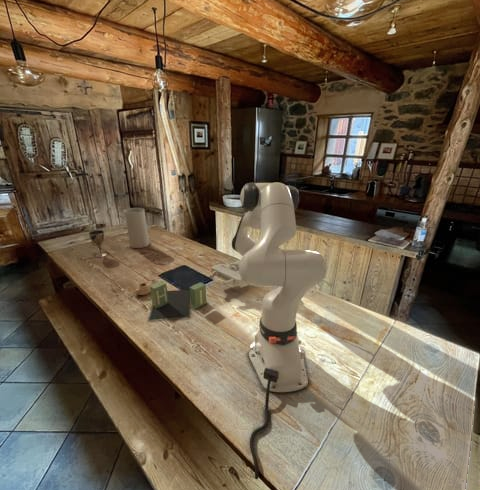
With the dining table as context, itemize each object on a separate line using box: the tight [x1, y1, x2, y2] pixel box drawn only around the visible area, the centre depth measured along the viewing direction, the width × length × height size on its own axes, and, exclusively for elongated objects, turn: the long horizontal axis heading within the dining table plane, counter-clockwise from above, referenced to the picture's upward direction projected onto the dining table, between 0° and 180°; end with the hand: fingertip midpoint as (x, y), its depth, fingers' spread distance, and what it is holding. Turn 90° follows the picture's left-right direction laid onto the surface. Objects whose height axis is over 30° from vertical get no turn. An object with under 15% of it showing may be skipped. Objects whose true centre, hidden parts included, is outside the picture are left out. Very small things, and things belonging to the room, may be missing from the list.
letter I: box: [189, 281, 207, 309], centre depth 117 cm, size 4×6×10 cm, turn 137°
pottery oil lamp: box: [132, 279, 158, 296], centre depth 128 cm, size 9×12×7 cm
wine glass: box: [88, 230, 108, 258], centre depth 167 cm, size 8×8×15 cm
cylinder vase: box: [123, 207, 150, 249], centre depth 180 cm, size 12×12×25 cm
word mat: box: [149, 289, 191, 321], centre depth 120 cm, size 22×16×1 cm
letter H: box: [150, 280, 169, 308], centre depth 117 cm, size 4×6×10 cm, turn 137°
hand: (217, 280), depth 124 cm, fingers open, 8 cm apart
